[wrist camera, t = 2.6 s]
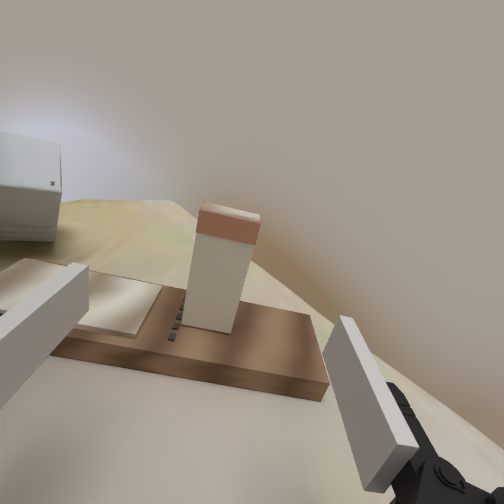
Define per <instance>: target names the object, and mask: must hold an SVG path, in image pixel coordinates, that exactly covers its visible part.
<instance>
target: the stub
mask: <svg viewBox="0 0 504 504" xmlns="http://www.w3.org/2000/svg"><path fill="white" fill-rule="evenodd" d="M260 225H261V222H260V215H259V214H255V213H251V212H246V211H242V210H237V209H233V208H229V207H225V206H220V205H216V204H212V203H208V202H204V203H203V205H202V207H201V208H200V210H199V216H198V222H197V228H196V238H195V244H194V250H193V256H192V262H191V268H190V274H189V280H188V286H187V292H186V298H185V304H184V310H183V316H182V322H181V324H182V325H188V326H193V327H198V328H203V329H208V330H214V331H219V332H224V333H229V334H231V330H232V327H233V323H234V319H235V316H236V312H237V308H238V304H239V301H240V297H241V293H242V289H243V286H244V282H245V278H246V274H247V271H248V267H249V263H250V259H251V256H252V252H253V248H254V245H255V243H256V239H257V235H258V232H259V228H260Z"/></svg>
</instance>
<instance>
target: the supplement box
mask: <svg viewBox="0 0 504 504" xmlns="http://www.w3.org/2000/svg"><path fill="white" fill-rule="evenodd" d="M61 195H62V177H61V158H60V144H59V143H55V142H50V141H45V140H40V139H36V138H31V137H26V136H22V135H17V134H12V133H8V132H3V131H0V240H12V241H42V242H54V241H55V235H56V228H57V222H58V215H59V208H60V201H61Z"/></svg>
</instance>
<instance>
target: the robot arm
mask: <svg viewBox="0 0 504 504" xmlns="http://www.w3.org/2000/svg"><path fill="white" fill-rule="evenodd" d="M88 311H89V265H84V264H79V263H74V262H72V263H71V264H70V265H68V266H67V267H66V268H64V269H63V270H62V271H60V272H59V273H58V274H56V275H55V276H54V277H52V278H51V279H50V280H48V281H47V282H46V283H44V284H43V285H42V286H40V287H39V288H38V289H36V290H35V291H34V292H32V293H31V294H30V295H28V296H27V297H26V298H24V299H23V300H22V301H20V302H19V303H18V304H16V305H15V306H14V307H12V308H11V309H10V310H8V311H7V312H6V313H4V314H2V313H0V409H1V408H2V407H3V406H4V405H5V404H6V402H7V401H8V400H9V399H10V398H11V397H12V396H13V395H14V393H15V392H16V391H17V390H18V389H19V388H20V387H21V386H22V385H23V383H24V382H25V381H26V380H27V379H28V378H29V377H30V376H31V374H32V373H33V372H34V371H35V370H36V369H37V368H38V367H39V366H40V364H41V363H42V362H43V361H44V360H45V359H46V358H47V357H48V355H49V354H50V353H51V352H52V351H53V350H54V349H55V348H56V347H57V345H58V344H59V343H60V342H61V341H62V340H63V339H64V338H65V336H66V335H67V334H68V333H69V332H70V331H71V330H72V329H73V327H74V326H75V325H76V324H77V323H78V322H79V321H80V320H81V319H82V317H83V316H84V315H85V314H86V313H87V312H88ZM322 354H323V357H324V360H325V364H326V367H327V370H328V374H329V377H330V380H331V383H332V387H333V390H334V393H335V397H336V400H337V403H338V407H339V410H340V413H341V417H342V420H343V423H344V426H345V430H346V433H347V436H348V440H349V443H350V446H351V450H352V453H353V456H354V459H355V463H356V466H357V469H358V473H359V476H360V479H361V483H362V486H363V489H364V491H369V492H377V493H385V491H386V490H387V489H388V487H389V486H390V485H392V487H393V490H394V493H395V495H396V496H395V498H394V499H393V500H392V501H391V502H390V504H504V487H497V488H496V489H495V490H494V491H493V492H492V493H491V494H490V493H488V492H486V491H484V490H482V489H480V488H478V487H476V486H474V485H471V484H469V483H467V482H466V481H465V479H464V478H463V476H462V475H461V474H460V472H459V471H458V470H457V469H456V468H455V467H454V466H453V465H452V464H450V463H449V462H448V461H446V460H445V459H443V458H441V457H439V456H438V455H437V453H436V451H435V449H434V447H433V446H432V444H431V442H430V440H429V439H428V437H427V435H426V433H425V431H424V430H423V428H422V426H421V424H420V422H419V421H418V419H417V418H416V417H415V416H416V415H415V414H414V412H413V410H412V408H410V405H409V403H408V401H407V399H406V397H405V396H404V394H403V393H402V392H401V391H400V390H399V389H398V387H397V386H396V385H395V384H394V383H390V382H385V380H384V378H383V376H382V374H381V372H380V370H379V368H378V366H377V364H376V362H375V360H374V358H373V356H372V355H371V353H370V351H369V349H368V347H367V345H366V343H365V341H364V339H363V337H362V335H361V333H360V331H359V329H358V327H357V325H356V324H355V322H354V320H353V318H350V317H344V316H339V317H338V319H337V322H336V324H335V326H334V328H333V331H332V333H331V335H330V337H329V340H328V342H327V344H326V346H325V349H324V351H323V353H322Z"/></svg>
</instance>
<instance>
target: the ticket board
mask: <svg viewBox="0 0 504 504" xmlns="http://www.w3.org/2000/svg"><path fill="white" fill-rule="evenodd" d="M66 267H67V266H66V265H61V264H56V263H51V262H46V261H41V260H36V259H28V258H23V259H22V260H20V261H18V262H17V263H15V264H13V265H11V266H10V267H8V268H6V269H5V270H3V271H1V272H0V313H2V314H4V313H6V312H7V311H8V310H10V309H11V308H12V307H14V306H15V305H16V304H18V303H19V302H20V301H22V300H23V299H24V298H26V297H27V296H28V295H30V294H31V293H32V292H34V291H35V290H36V289H38V288H39V287H40V286H42V285H43V284H44V283H46V282H47V281H48V280H50V279H51V278H52V277H54V276H55V275H56V274H58V273H59V272H60V271H62V270H63V269H64V268H66ZM186 292H187V290H184V289H179V288H174V287H169V286H164V285H159V284H154V283H149V282H144V281H140V280H135V279H130V278H125V277H120V276H115V275H110V274H105V273H100V272H95V271H90V270H89V311H88V312H87V313H86V314H85V315H84V316H83V317H82V319H81V320H80V321H79V322H78V323H77V324H76V325H75V326H74V327H73V329H72V330H71V331H70V332H69V333H68V334H67V335H66V336H65V338H64V339H63V340H62V341H61V342H60V343H59V344H58V345H57V347H56V348H55V349H54V350H53V351H52V352H51V353H50V354H49V355H54V356H60V357H66V358H72V359H77V360H83V361H89V362H95V363H101V364H106V365H112V366H118V367H124V368H129V369H135V370H141V371H147V372H153V373H158V374H164V375H170V376H176V377H182V378H187V379H193V380H199V381H205V382H210V383H216V384H222V385H228V386H234V387H239V388H245V389H251V390H257V391H263V392H268V393H274V394H280V395H286V396H292V397H297V398H303V399H309V400H315V401H320V402H321V400H322V398H323V396H324V394H325V392H326V390H327V388H328V386H329V384H330V383H329V380H328V376H327V373H326V369H325V366H324V362H323V359H322V356H321V352H320V349H319V345H318V342H317V338H316V335H315V331H314V328H313V325H312V321H311V318H310V315H307V314H302V313H297V312H292V311H287V310H282V309H277V308H273V307H268V306H263V305H258V304H253V303H248V302H243V301H239V304H238V308H237V312H236V316H235V319H234V323H233V327H232V330H231V334H229V333H224V332H219V331H214V330H208V329H203V328H198V327H193V326H188V325H182V324H181V322H182V316H183V310H184V304H185V298H186Z"/></svg>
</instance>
